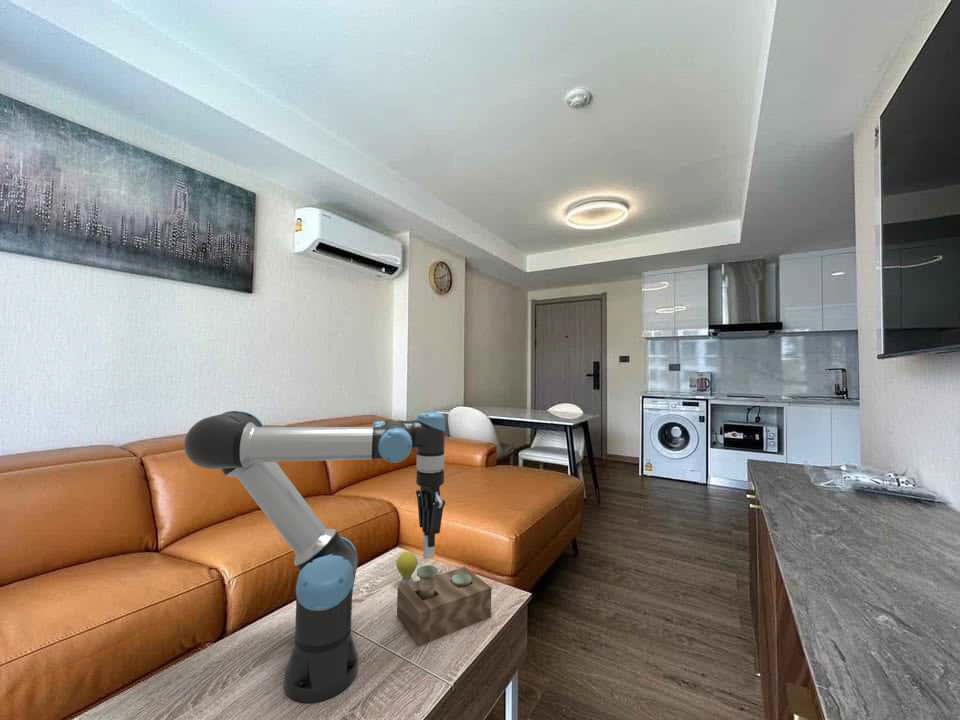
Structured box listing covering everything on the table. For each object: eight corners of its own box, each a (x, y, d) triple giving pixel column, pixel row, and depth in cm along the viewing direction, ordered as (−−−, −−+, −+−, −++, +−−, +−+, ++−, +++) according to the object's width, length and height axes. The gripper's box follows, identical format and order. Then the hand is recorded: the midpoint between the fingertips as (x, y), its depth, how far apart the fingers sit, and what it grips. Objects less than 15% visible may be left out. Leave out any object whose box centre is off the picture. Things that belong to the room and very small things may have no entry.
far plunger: (457, 614, 108) (458, 585, 108) (447, 604, 112) (448, 576, 113) (474, 608, 111) (475, 579, 111) (464, 598, 115) (464, 571, 116)
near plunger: (421, 609, 102) (422, 577, 102) (412, 598, 106) (413, 568, 107) (440, 602, 105) (441, 572, 105) (431, 592, 109) (431, 563, 110)
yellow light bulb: (412, 591, 121) (413, 558, 121) (392, 588, 122) (393, 556, 122) (420, 580, 127) (420, 549, 128) (400, 578, 129) (401, 547, 129)
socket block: (418, 646, 96) (419, 612, 97) (396, 616, 108) (397, 587, 108) (490, 616, 109) (491, 587, 109) (464, 593, 120) (464, 566, 121)
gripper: (454, 472, 104) (452, 563, 103) (431, 463, 115) (430, 545, 114) (428, 476, 100) (427, 571, 99) (407, 466, 110) (406, 551, 109)
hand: (428, 557), depth 106 cm, fingers closed
